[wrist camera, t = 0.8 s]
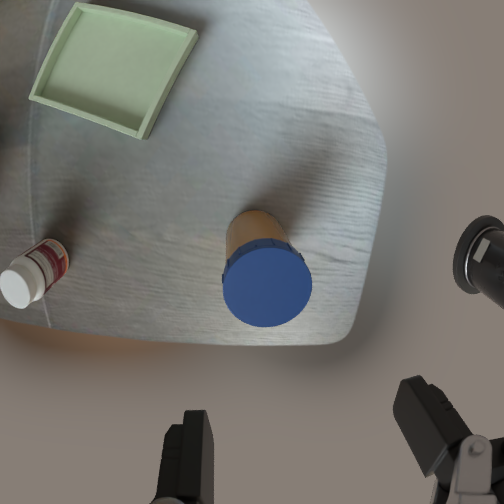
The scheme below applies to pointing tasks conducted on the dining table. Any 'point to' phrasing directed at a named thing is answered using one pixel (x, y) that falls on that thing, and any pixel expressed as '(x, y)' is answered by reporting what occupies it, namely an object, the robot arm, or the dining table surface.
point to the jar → (252, 230)
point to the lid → (266, 283)
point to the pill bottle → (34, 273)
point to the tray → (113, 67)
